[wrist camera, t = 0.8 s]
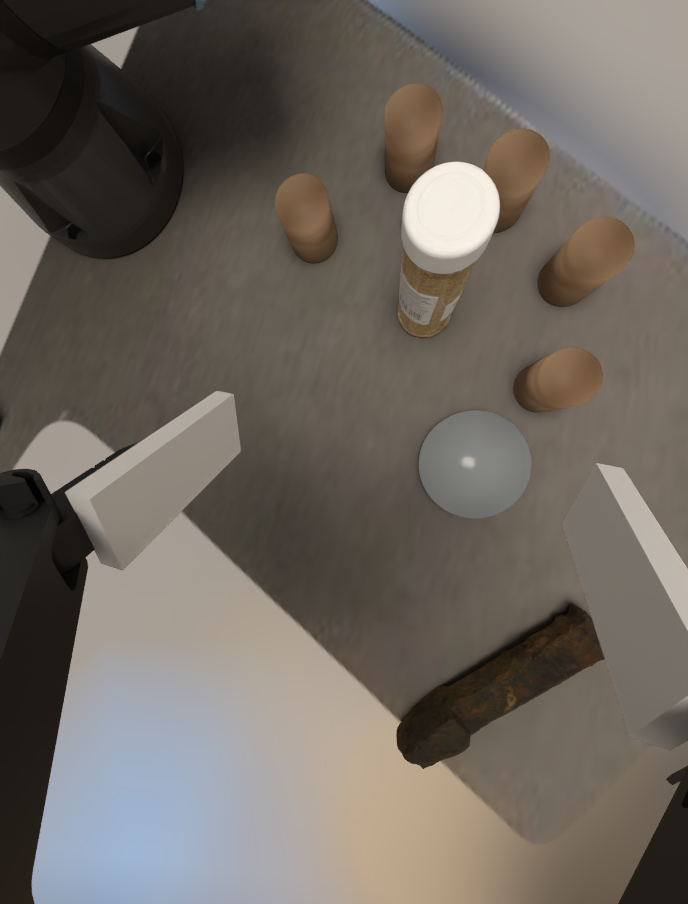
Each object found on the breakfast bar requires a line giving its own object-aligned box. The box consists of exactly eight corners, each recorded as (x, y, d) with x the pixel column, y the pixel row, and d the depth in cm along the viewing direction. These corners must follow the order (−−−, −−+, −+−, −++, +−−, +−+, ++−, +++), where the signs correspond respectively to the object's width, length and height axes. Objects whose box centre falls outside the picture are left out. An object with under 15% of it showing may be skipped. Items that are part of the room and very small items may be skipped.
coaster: (397, 450, 30) (397, 450, 30) (487, 389, 29) (489, 388, 29) (457, 537, 30) (459, 539, 29) (551, 478, 29) (554, 479, 28)
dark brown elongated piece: (570, 593, 29) (604, 621, 25) (598, 634, 29) (638, 671, 24) (380, 697, 32) (378, 741, 27) (405, 736, 31) (407, 787, 27)
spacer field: (284, 236, 31) (264, 197, 26) (458, 95, 29) (473, 23, 24) (451, 474, 30) (464, 481, 25) (647, 346, 28) (703, 325, 23)
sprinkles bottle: (459, 324, 29) (518, 227, 16) (408, 347, 30) (425, 273, 17) (438, 275, 29) (479, 137, 16) (387, 298, 30) (387, 185, 17)
